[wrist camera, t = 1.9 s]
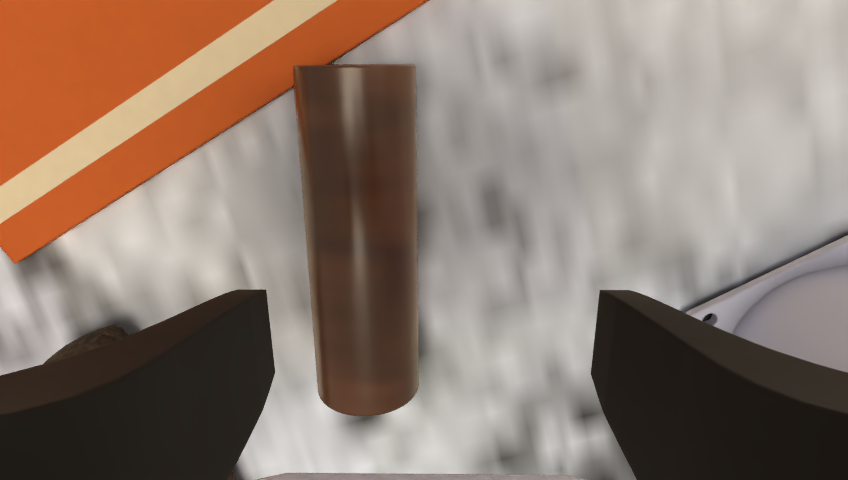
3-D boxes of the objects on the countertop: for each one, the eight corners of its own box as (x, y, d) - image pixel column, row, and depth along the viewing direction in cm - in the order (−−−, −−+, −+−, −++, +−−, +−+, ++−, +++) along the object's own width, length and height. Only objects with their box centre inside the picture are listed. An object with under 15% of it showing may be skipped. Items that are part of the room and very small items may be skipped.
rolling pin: (402, 64, 18) (291, 64, 17) (429, 64, 14) (293, 65, 14) (407, 354, 21) (315, 366, 20) (429, 407, 18) (321, 424, 17)
